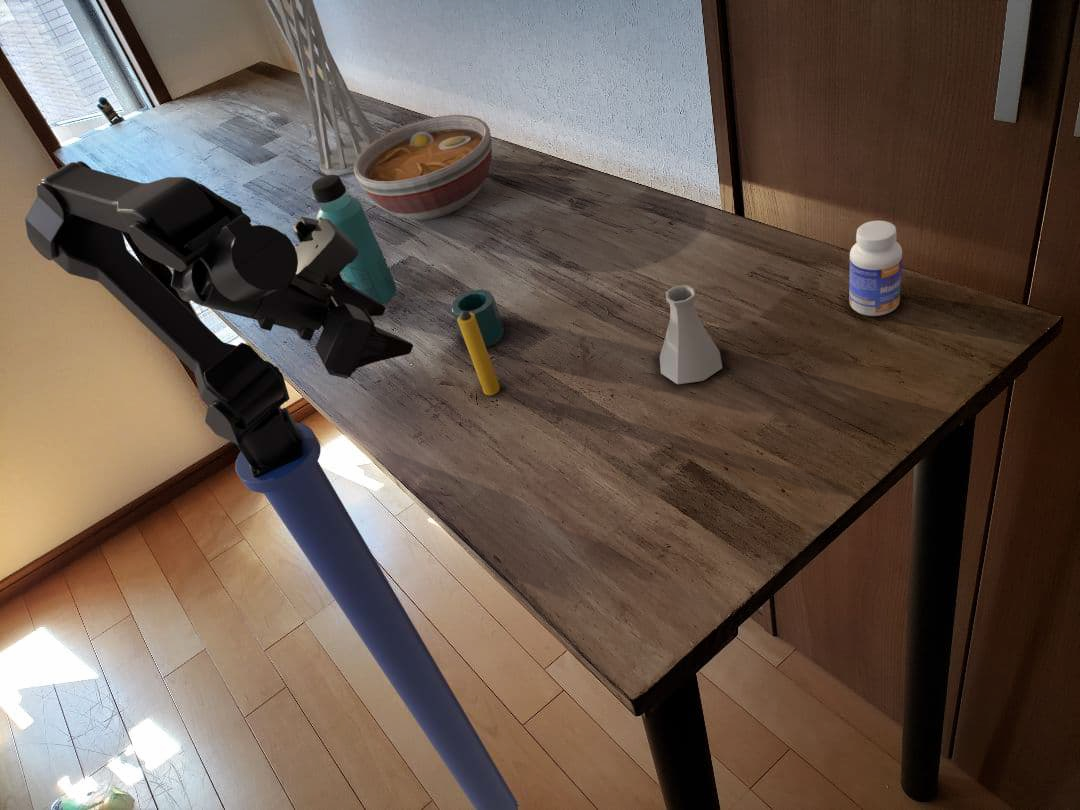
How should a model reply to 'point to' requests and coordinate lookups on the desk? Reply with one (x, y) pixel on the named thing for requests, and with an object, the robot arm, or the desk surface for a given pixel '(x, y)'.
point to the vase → (323, 87)
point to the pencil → (478, 352)
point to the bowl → (427, 166)
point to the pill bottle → (875, 269)
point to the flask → (687, 341)
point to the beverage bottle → (355, 239)
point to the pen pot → (481, 314)
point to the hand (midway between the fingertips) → (397, 329)
